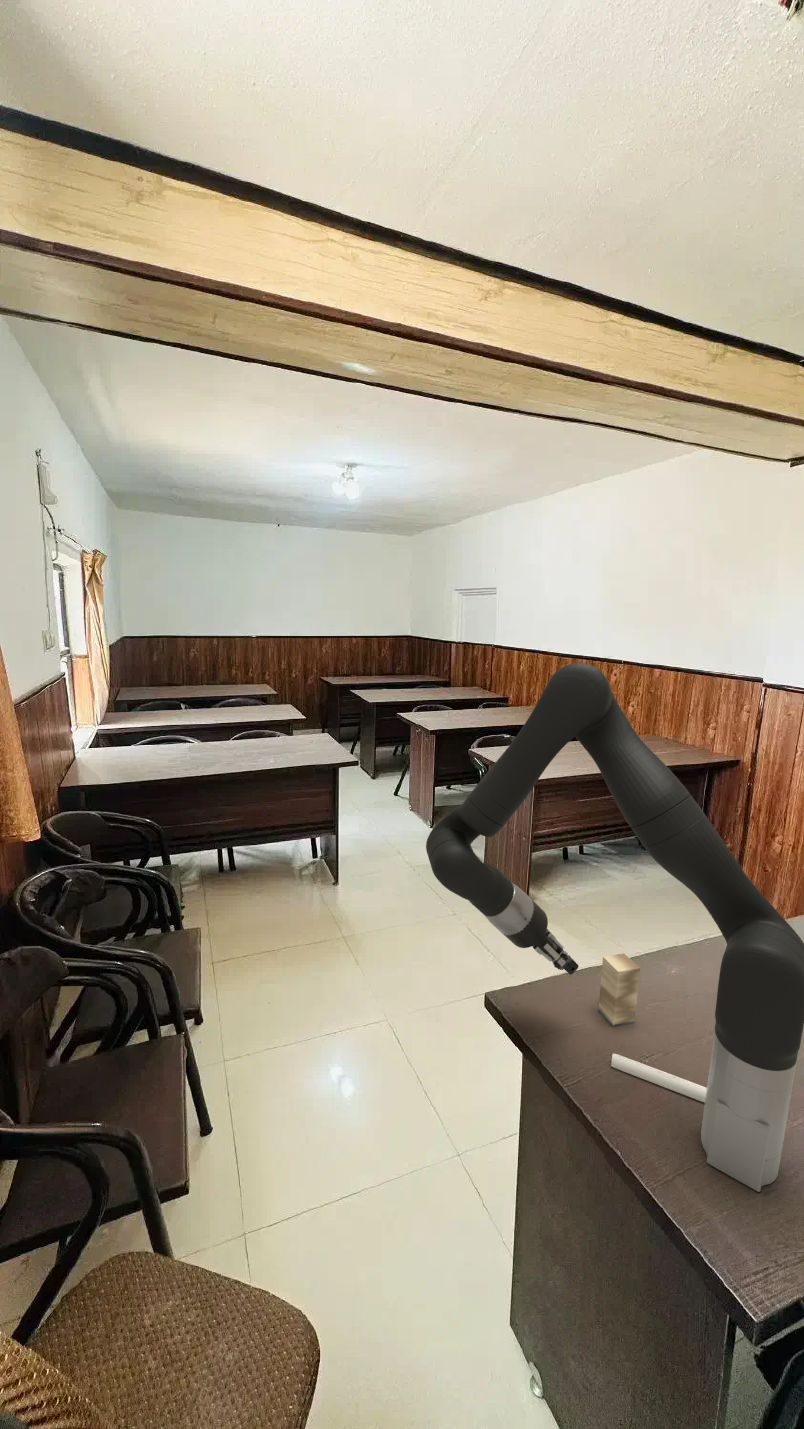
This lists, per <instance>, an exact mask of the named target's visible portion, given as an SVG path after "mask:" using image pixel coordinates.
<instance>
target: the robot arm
mask: <svg viewBox="0 0 804 1429" xmlns="http://www.w3.org/2000/svg"><path fill="white" fill-rule="evenodd" d="M573 738H576V740H577V741H578V742H579V743H580V744H581V746H582V747H583V748H584V749H585V751H586V752H587V753H588V755H589V756H590V757H591V759H592V760H593V761H594V762H595V765H596V767H597V768H598V770H599V772H600V773H601V776H602V778H603V779H604V782H605V784H606V786H607V788H608V790H609V792H610V794H611V796H612V798H613V800H614V802H615V804H616V806H617V807H618V809H619V812H621V814H622V816H623V818H624V819H625V821H626V823H627V824H628V826H629V827H630V829H631V830H632V831H633V833H634V835H635V836H636V837H637V839H638V840H639V842H640V843H641V845H642V846H643V847H644V849H645V850H646V852H647V853H648V854H649V855H650V857H651V858H652V860H654V861H655V862H656V863H657V864H658V865H659V866H661V867H662V869H663V870H665V871H666V872H667V873H668V874H669V875H671V876H672V877H673V878H675V879H676V880H677V881H679V882H680V883H681V884H682V885H684V886H685V887H686V888H688V889H689V890H690V891H691V892H692V893H693V894H694V895H695V896H696V897H697V898H698V900H699V901H700V903H702V905H703V906H704V908H705V909H706V910H707V911H708V914H709V915H710V916H711V918H712V920H713V921H714V923H715V924H716V925H717V927H718V929H719V931H720V933H721V934H722V936H723V939H724V940H725V943H726V947H725V950H724V953H723V955H722V959H721V963H720V968H719V969H720V970H719V978H718V984H717V985H718V986H717V992H716V1003H715V1009H714V1010H715V1012H714V1019H715V1023H714V1024H715V1025H714V1034H713V1040H712V1041H713V1042H712V1049H711V1055H710V1064H709V1070H708V1071H709V1072H708V1078H707V1084H706V1088H707V1091H706V1099H705V1103H704V1105H703V1106H704V1108H703V1115H702V1123H701V1132H700V1141H701V1145H702V1147H703V1150H704V1152H705V1153H706V1163H707V1164H708V1165H710V1166H712V1167H714V1168H715V1169H717V1170H719V1171H721V1172H723V1173H724V1174H726V1175H727V1176H729V1177H731V1178H733V1179H735V1180H736V1181H737V1182H740V1183H742V1184H743V1185H745V1186H747V1187H749V1188H750V1189H752V1190H753V1191H756V1192H758V1193H759V1192H761V1190H762V1187H764V1186H766V1185H767V1186H768V1185H770V1184H772V1183H774V1182H775V1180H776V1179H777V1178H778V1175H779V1170H780V1164H781V1158H782V1152H783V1145H784V1139H785V1133H786V1126H787V1122H788V1115H789V1108H790V1103H791V1096H792V1089H793V1085H794V1078H795V1073H796V1069H797V1068H796V1066H797V1060H798V1054H799V1051H800V1048H801V1044H802V1036H803V1030H804V941H803V940H802V938H801V937H800V936H799V934H798V933H797V932H796V930H795V929H794V928H793V927H792V926H791V925H790V924H789V923H788V921H787V920H786V919H785V917H783V916H782V915H781V914H780V912H779V911H778V910H777V909H776V908H775V907H774V905H772V904H771V903H770V901H769V899H767V898H766V897H765V895H764V894H763V893H761V891H760V890H759V889H758V888H757V886H756V885H755V884H754V883H753V882H752V880H751V879H750V878H749V876H748V875H747V874H746V872H745V871H744V870H743V868H742V867H741V865H740V864H739V861H738V860H737V859H736V857H735V855H734V854H733V853H732V851H731V850H730V848H729V847H728V846H727V844H726V843H725V841H724V840H723V838H722V836H720V834H719V833H718V831H717V830H716V829H715V827H714V825H713V824H712V823H711V821H710V819H709V818H708V817H707V814H706V813H705V812H704V811H703V809H702V808H701V806H700V805H699V804H698V802H697V801H696V799H695V798H694V797H693V796H692V794H690V792H689V790H688V789H687V788H686V787H685V786H684V784H683V783H682V782H681V781H680V779H679V778H678V777H677V776H676V775H675V774H674V773H673V771H672V770H671V769H670V768H669V767H668V766H667V765H666V764H665V763H664V762H663V761H662V760H661V759H660V758H659V757H658V755H657V754H656V753H655V752H653V750H651V749H650V748H649V746H648V745H647V744H646V743H645V742H644V741H643V740H642V739H641V738H640V736H639V735H638V733H637V732H636V731H635V729H634V728H633V726H632V725H631V724H630V722H629V720H628V718H627V716H626V715H625V714H624V712H623V710H622V708H621V706H620V705H619V703H618V701H617V700H616V697H615V695H614V694H613V691H612V688H611V685H610V682H609V680H608V678H607V677H606V675H605V674H604V673H603V672H602V671H601V670H600V669H599V668H597V667H595V666H593V665H592V664H590V663H589V664H588V663H584V662H574V663H571V664H569V663H568V664H566V665H563V666H562V667H560V668H559V669H558V670H556V671H555V672H554V673H553V674H552V675H551V677H550V678H549V680H548V682H547V685H546V686H545V688H544V690H543V692H542V693H541V695H540V697H539V699H538V701H537V702H536V704H535V707H534V708H533V709H532V712H531V714H530V715H529V716H528V718H527V720H526V721H525V723H523V726H522V727H521V729H520V731H519V732H518V733H517V735H516V736H515V738H514V739H513V741H512V742H511V743H510V744H509V746H507V748H506V749H505V751H504V752H503V753H502V754H501V755H500V756H499V758H498V759H497V760H496V761H495V762H494V764H492V766H491V767H490V768H489V769H488V771H487V772H486V773H485V775H483V777H482V778H481V780H480V781H479V782H478V783H477V784H476V786H475V787H474V788H473V789H472V791H471V792H470V793H469V795H468V796H467V797H466V799H465V800H464V801H463V803H461V804H460V805H459V806H457V807H455V809H453V810H452V811H450V812H449V813H448V814H447V815H446V816H444V817H443V818H442V819H441V820H439V821H438V822H437V823H436V824H435V826H434V827H433V828H432V829H431V831H430V832H429V834H428V836H427V839H426V843H425V850H426V854H427V858H428V861H429V863H430V867H431V870H432V873H433V875H434V877H435V878H436V879H437V880H438V882H439V883H440V884H441V885H442V886H443V887H444V888H445V889H447V890H448V891H450V892H452V893H454V894H455V895H457V896H458V897H460V898H462V899H464V900H467V901H468V902H469V903H470V904H472V906H473V907H474V908H475V909H477V910H478V911H479V912H480V913H481V914H482V915H484V916H485V918H486V919H487V920H488V922H489V923H490V924H491V925H492V926H494V927H495V929H497V930H498V931H499V932H500V933H501V934H502V935H503V936H504V937H505V938H507V939H508V940H509V941H510V943H512V944H513V945H514V946H516V947H518V948H520V949H528V948H533V949H534V950H535V952H537V953H538V955H542V956H543V957H544V958H545V959H546V960H547V961H549V962H552V964H553V966H554V968H556V969H558V970H560V971H565V972H567V973H568V974H569V975H573V974H574V973H575V972H576V971H577V970H578V969H579V967H580V966H579V964H578V963H577V962H576V961H575V960H574V959H573V958H572V957H571V955H570V954H569V953H568V952H567V951H566V950H564V946H563V945H562V944H561V943H560V942H559V940H558V939H557V938H556V936H555V935H554V934H553V933H552V932H551V931H550V930H549V929H548V922H549V921H548V915H547V913H546V912H545V911H544V909H542V907H540V905H538V904H537V903H536V902H535V901H534V900H533V899H532V898H531V897H530V896H529V895H528V894H527V893H526V892H525V891H524V890H523V889H521V888H520V887H519V886H518V885H516V884H515V883H513V882H512V881H511V880H510V879H509V878H508V877H507V876H506V875H505V874H504V873H503V872H502V871H500V870H499V869H498V868H497V867H496V866H494V865H492V864H490V863H487V862H483V861H482V860H481V859H480V857H478V856H477V854H476V853H475V852H474V850H473V847H472V843H473V842H474V841H475V840H476V839H477V838H478V837H479V836H483V837H486V838H492V837H493V836H495V835H497V834H498V833H499V832H500V831H501V830H502V828H504V826H505V825H506V824H507V823H508V821H509V820H510V819H511V817H512V816H513V815H514V814H515V813H516V812H517V810H519V808H520V806H522V804H523V803H524V801H525V800H526V799H527V797H528V796H529V794H530V793H531V791H532V789H533V788H534V787H535V786H536V784H537V782H538V780H540V779H539V778H540V777H541V776H542V774H544V771H546V769H547V768H548V766H549V765H550V763H551V762H552V761H553V760H554V758H555V757H556V756H557V755H558V754H559V753H560V752H561V750H563V748H564V747H565V746H566V745H567V744H568V743H569V742H571V741H572V740H573Z"/></svg>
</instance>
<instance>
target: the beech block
mask: <svg viewBox="0 0 804 1429" xmlns="http://www.w3.org/2000/svg"><path fill="white" fill-rule="evenodd" d="M640 974H641V967H639V965H637V964H636V963H635V962H634V961H633V960H632V959H631V958H630V957H629V956H628V955H626V954H625V953H618V954H611V955H605V956H603V957H602V965H601V975H600V987H599V996H598V1011H599V1012H600V1014H602V1016H603V1017H604V1018H605V1020H607V1022H608V1023H609V1025H611V1026H612V1027H613V1028H614V1027H618V1026H624V1025H629V1024H630V1025H631V1024H634V1023H635V1022H636V1015H637V1014H636V1013H637V1001H638V993H639V983H640V981H639V980H640Z"/></svg>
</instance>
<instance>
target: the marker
mask: <svg viewBox="0 0 804 1429" xmlns="http://www.w3.org/2000/svg"><path fill="white" fill-rule="evenodd" d="M610 1067H612V1068H613V1069H616V1070H619V1071H620V1072H621V1071H622V1072H623V1073H626V1074H629V1075H632V1076H635V1077H637V1078H639V1079H642V1080H644V1081H647V1082H650V1083H652V1084H655V1085H657V1086H660V1087H662V1088H665V1089H668V1090H671V1091H673V1092H675V1093H679V1094H681V1095H684V1096H686V1097H689V1098H691V1099H693V1100H696V1101H699V1102H702V1103H704V1104H705V1099H706V1091H707V1086H706V1087H705V1086H703V1085H700V1084H697V1083H695V1082H692V1081H691V1080H690V1081H689V1080H688V1079H684V1078H682V1077H679V1076H677V1075H674V1074H670V1073H669V1072H665V1071H663V1070H660V1069H658V1068H656V1067H653V1066H649V1065H647V1064H644V1063H642V1062H639V1061H637V1060H634V1059H630V1058H629V1057H625V1056H624V1055H623V1056H622V1055H621V1054H618V1053H614V1052H612V1055H611V1063H610Z"/></svg>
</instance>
